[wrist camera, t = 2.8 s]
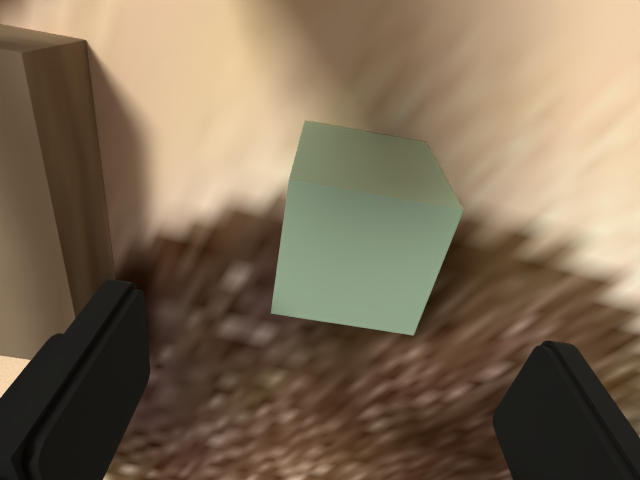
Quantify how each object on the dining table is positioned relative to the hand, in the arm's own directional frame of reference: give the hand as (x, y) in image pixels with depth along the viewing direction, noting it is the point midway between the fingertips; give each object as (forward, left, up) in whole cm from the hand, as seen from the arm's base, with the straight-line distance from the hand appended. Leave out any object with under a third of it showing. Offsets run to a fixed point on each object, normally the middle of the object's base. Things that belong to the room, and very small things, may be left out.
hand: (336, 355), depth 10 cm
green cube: (-1, 0, -10) cm, 10 cm away
